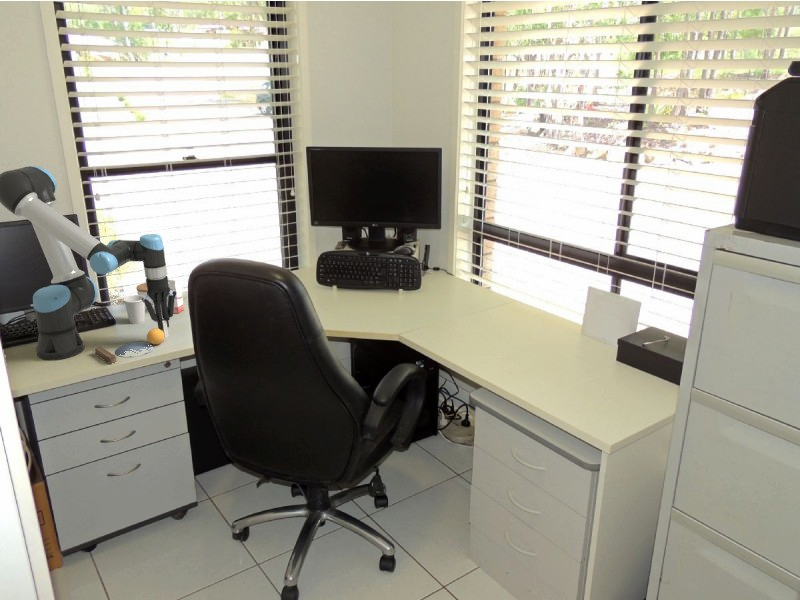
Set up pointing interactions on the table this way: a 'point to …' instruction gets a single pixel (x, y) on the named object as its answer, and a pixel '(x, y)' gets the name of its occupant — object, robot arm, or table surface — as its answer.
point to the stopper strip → (105, 355)
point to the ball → (155, 336)
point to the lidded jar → (143, 291)
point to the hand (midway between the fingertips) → (165, 336)
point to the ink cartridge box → (178, 298)
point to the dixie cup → (135, 308)
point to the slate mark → (133, 347)
